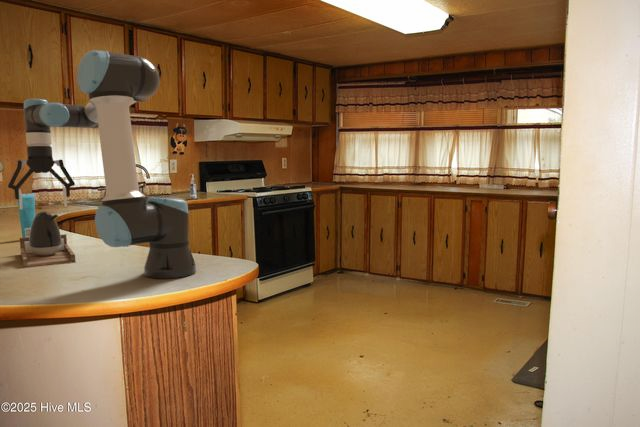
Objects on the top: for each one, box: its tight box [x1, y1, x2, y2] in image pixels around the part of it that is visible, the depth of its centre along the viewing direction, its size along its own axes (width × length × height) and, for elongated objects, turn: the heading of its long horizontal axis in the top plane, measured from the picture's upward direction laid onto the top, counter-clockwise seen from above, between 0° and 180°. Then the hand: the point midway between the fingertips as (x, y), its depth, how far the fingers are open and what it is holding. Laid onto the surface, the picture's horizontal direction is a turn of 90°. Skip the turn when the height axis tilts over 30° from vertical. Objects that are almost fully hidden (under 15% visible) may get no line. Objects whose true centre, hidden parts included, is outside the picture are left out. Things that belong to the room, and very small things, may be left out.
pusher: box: [25, 239, 64, 253], centre depth 191 cm, size 8×12×4 cm, turn 122°
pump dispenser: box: [29, 210, 62, 256], centre depth 182 cm, size 10×10×15 cm
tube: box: [16, 192, 36, 238], centre depth 217 cm, size 7×5×19 cm, turn 152°
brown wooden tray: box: [19, 234, 76, 268], centre depth 181 cm, size 24×15×6 cm, turn 32°
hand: (43, 207), depth 181 cm, fingers open, 13 cm apart
